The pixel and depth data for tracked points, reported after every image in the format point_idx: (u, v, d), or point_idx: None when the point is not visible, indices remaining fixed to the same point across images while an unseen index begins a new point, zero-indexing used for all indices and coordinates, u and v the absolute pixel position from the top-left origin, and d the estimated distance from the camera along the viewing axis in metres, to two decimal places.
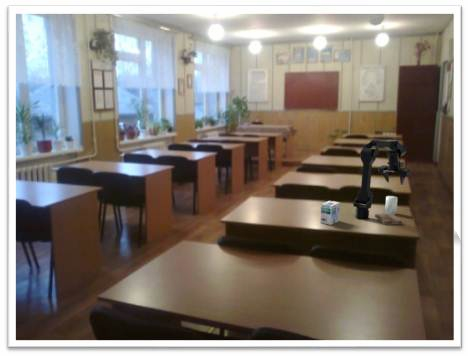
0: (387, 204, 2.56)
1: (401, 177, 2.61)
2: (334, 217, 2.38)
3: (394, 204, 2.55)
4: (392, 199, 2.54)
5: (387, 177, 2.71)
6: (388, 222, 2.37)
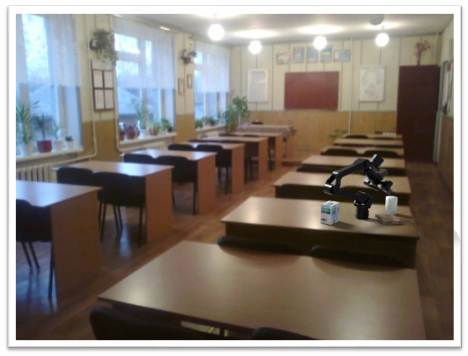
0: (387, 204, 2.56)
1: (384, 191, 2.46)
2: (334, 217, 2.38)
3: (394, 204, 2.55)
4: (392, 199, 2.54)
5: (376, 187, 2.57)
6: (388, 222, 2.37)
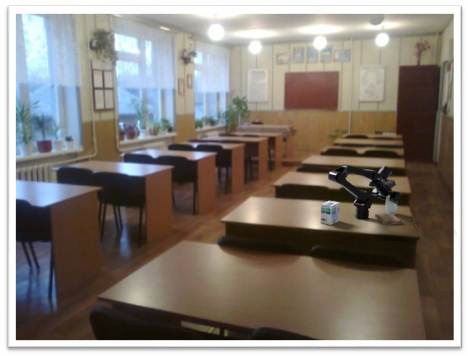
0: (387, 204, 2.56)
1: (391, 201, 2.51)
2: (334, 217, 2.38)
3: (394, 204, 2.55)
4: None
5: (385, 198, 2.60)
6: (388, 222, 2.37)
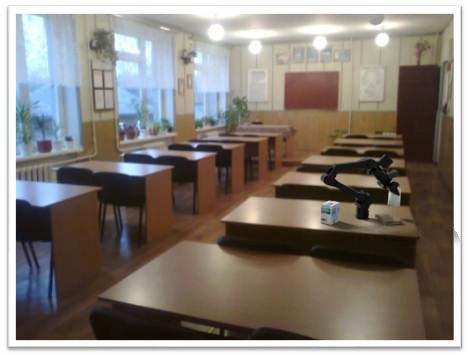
0: (389, 195, 2.48)
1: (390, 191, 2.43)
2: (334, 217, 2.38)
3: (396, 195, 2.46)
4: None
5: None
6: (388, 222, 2.37)
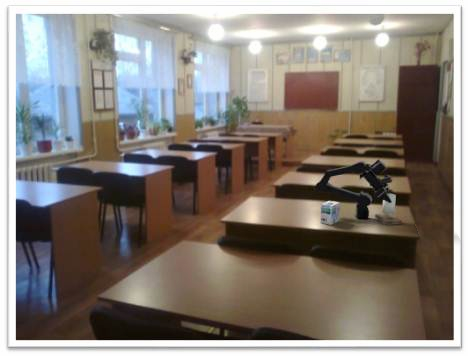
0: (383, 201, 2.43)
1: None
2: (334, 217, 2.38)
3: (387, 202, 2.39)
4: None
5: None
6: (388, 222, 2.37)
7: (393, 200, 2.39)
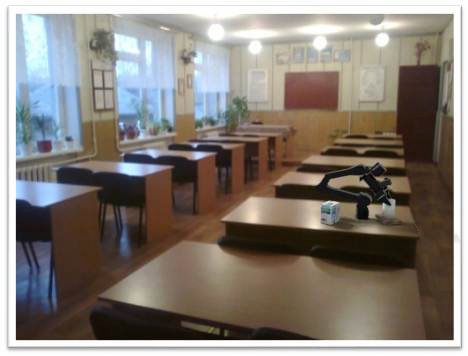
0: None
1: None
2: (334, 217, 2.38)
3: (387, 207, 2.40)
4: None
5: (387, 197, 2.46)
6: (388, 222, 2.37)
7: (393, 205, 2.39)
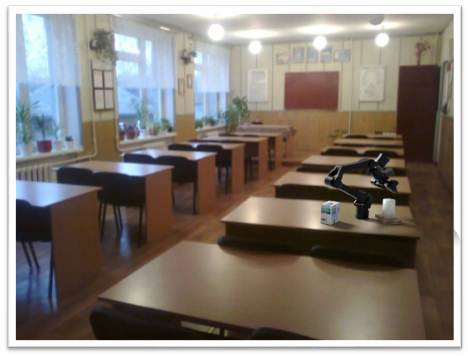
0: None
1: (390, 190, 2.46)
2: (334, 217, 2.38)
3: (387, 207, 2.40)
4: (385, 201, 2.40)
5: (383, 186, 2.57)
6: (388, 222, 2.37)
7: (393, 205, 2.39)
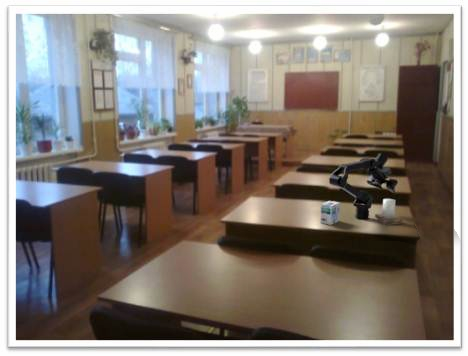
0: None
1: (389, 189, 2.49)
2: (334, 217, 2.38)
3: (387, 207, 2.40)
4: (385, 201, 2.40)
5: (379, 185, 2.60)
6: (388, 222, 2.37)
7: (393, 205, 2.39)
